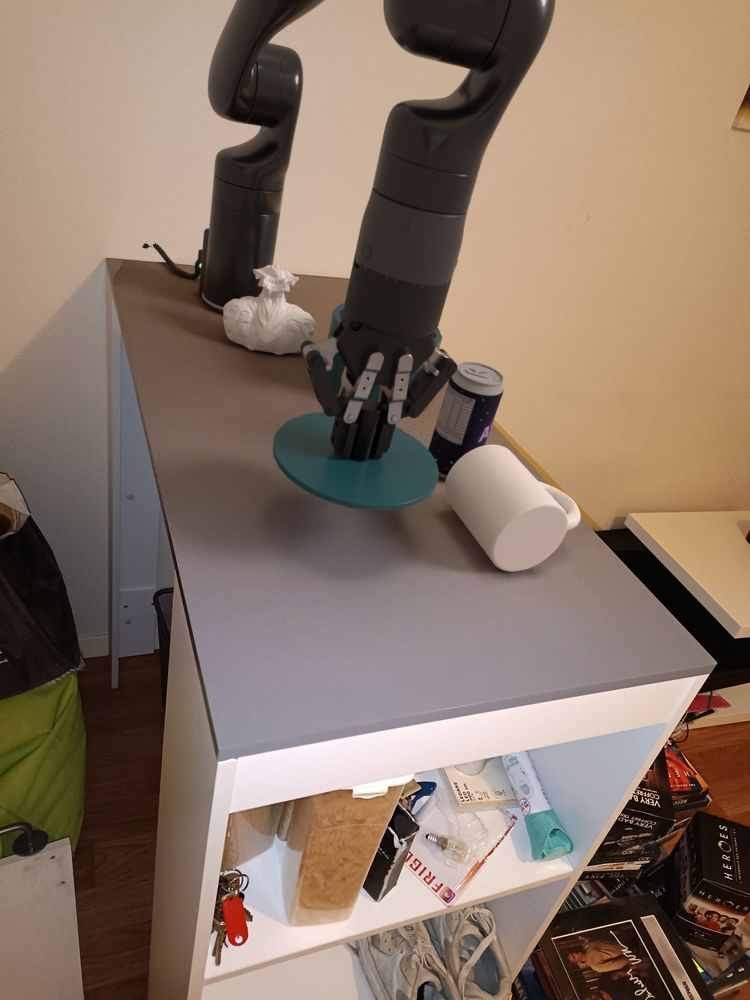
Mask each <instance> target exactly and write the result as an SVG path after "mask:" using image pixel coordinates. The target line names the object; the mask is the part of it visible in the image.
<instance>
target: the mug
mask: <svg viewBox="0 0 750 1000" xmlns="http://www.w3.org/2000/svg"><path fill="white" fill-rule="evenodd" d="M443 492H444V497H445V499H446V501H447V503H448V504H449V505H450V506H451V508H452V509H453V511H454V512H455V513H456V515H457V516H458V518H459V519H460V520H461V522H462V523H463V524H464V526H465V527H466V528H467V530H468V531H469V532H470V533H471V535H472V536H473V537H474V540H476V542H477V543H478V545H479V546H480V547H481V549H483V551H484V552H485V554H486V555H487V556H488V558H489V559H490V561H491V562H492V563H493V565H494V566H495V567H496V568H498V569H500V570H501V571H505V572H513V573H515V572H523V571H525V570H528V569H532V568H533V567H535V566H537V565H539V564H541V563H543V562H544V561H545V560H546V559H548V557H550V556H552V554H554V552H555V551H556V550H557V549H558V548H559V546H560V545H561V544H562V542H563V540H564V538H565V537H566V535H567V532H568V531H572V530H573V529H575V528H576V527H578V525H579V524H580V522H581V519H582V518H581V517H582V516H581V511H580V508H579V507H578V504H577V503H576V502H575V501H574V499H573V498H572V497H570V495H568V494H566V493H565V492H564V491H562V490H560V489H558V488H556V487H554V486H552V485H550V484H548V483H545V482H542V481H539V480H537V478H536V477H535V476H534V475H533V473H531V472H530V471H529V470H528V468H527V467H526V466H525V465H524V464H523V463H522V462H521V461H520V459H518V458H517V456H516V455H515V454H514V453H513V452H512V451H511V450H510V449H509V448H507V447H505V446H503V445H500V444H485V445H484V446H481V447H478V448H475V449H473V450H471V451H469V452H468V453H466V454H465V455H464V456H462V457H461V458H460V459H459V460H458V461H457V462H456V463H455V464H454V466H453V467H452V468H451V470H450V471H449V473H448V475H447V478H446V479H445V482H444V491H443Z"/></svg>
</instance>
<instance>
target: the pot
mask: <svg viewBox="0 0 750 1000" xmlns="http://www.w3.org/2000/svg"><path fill="white" fill-rule="evenodd" d="M344 304H345V302H342V303H340V304H339V305H337V306H336V307H335V308H334V309H333V310H332V313H331V319H330V324H329V330H328V335H327V339H329V338H332V337H333V333H334V330H335V329H336V328H337V326H338V325H339V324H340V322H341V320H342V318H343V312H344ZM434 340H435V348H437V349H441V344H442V341H443V335H442V333H441V331H440V328H439V327H438V328H437V330H436V331H435V332H434ZM422 365H423V364H422ZM422 365H421V366H420V367H419V368H418V369H417V370H416V371H415V372H414V373H413V374H412V375H411V376H410V377H409V382H408V385H409V383H410V382H411V381H412V380H413V378H414V377H415V376H416V375H417V373H418V372H419V371H420V370H421V368H422V367H423V366H422ZM344 368H345V365H344V363H343V361H342V359H341V357H340V355H339V353H336V354H335V355H334V357H333V366H332V368H331V370H329V371H327V373H328V376H329V379H330V382H331V385H332V389H333V392H334V395H337V396H338V393H339V390H340V387H341V377H342V374H343V371H344ZM379 392H380V386H379V385H375V386H372V388H371V391H370V394H369V396H368V398H369V399H373V400H376V401H378V400H379Z"/></svg>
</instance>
